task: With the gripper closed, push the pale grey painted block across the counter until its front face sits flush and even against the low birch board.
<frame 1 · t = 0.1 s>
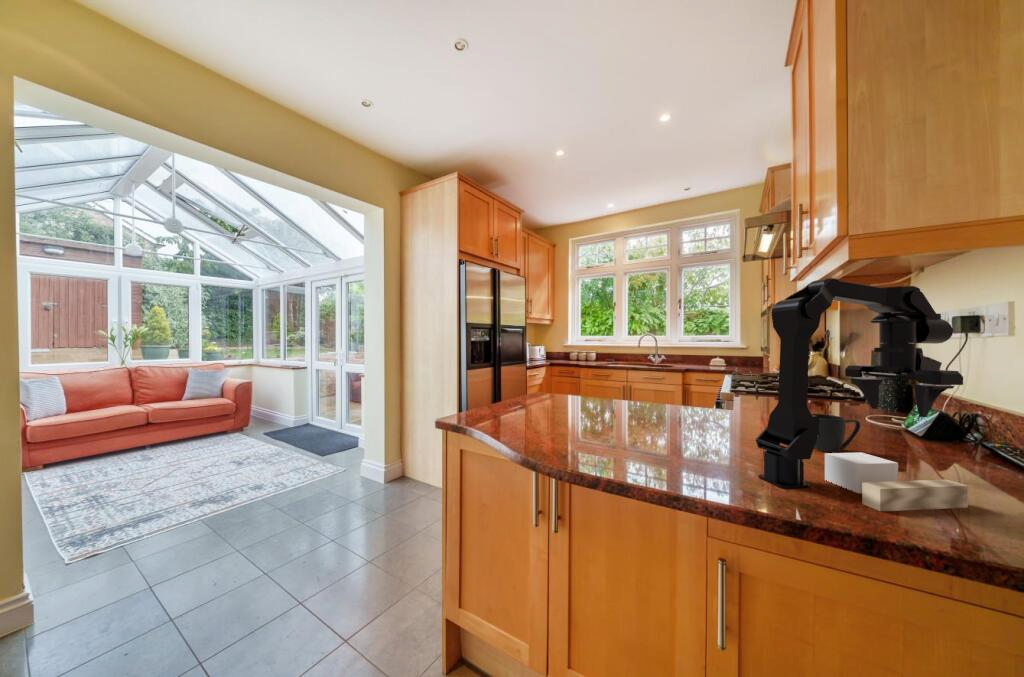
hand: (897, 412, 81), 15 cm above the countertop, tool pointing down, fingers open, 9 cm apart
block: (860, 486, 76), on the countertop
board: (914, 505, 67), on the countertop
mug: (833, 451, 101), on the countertop
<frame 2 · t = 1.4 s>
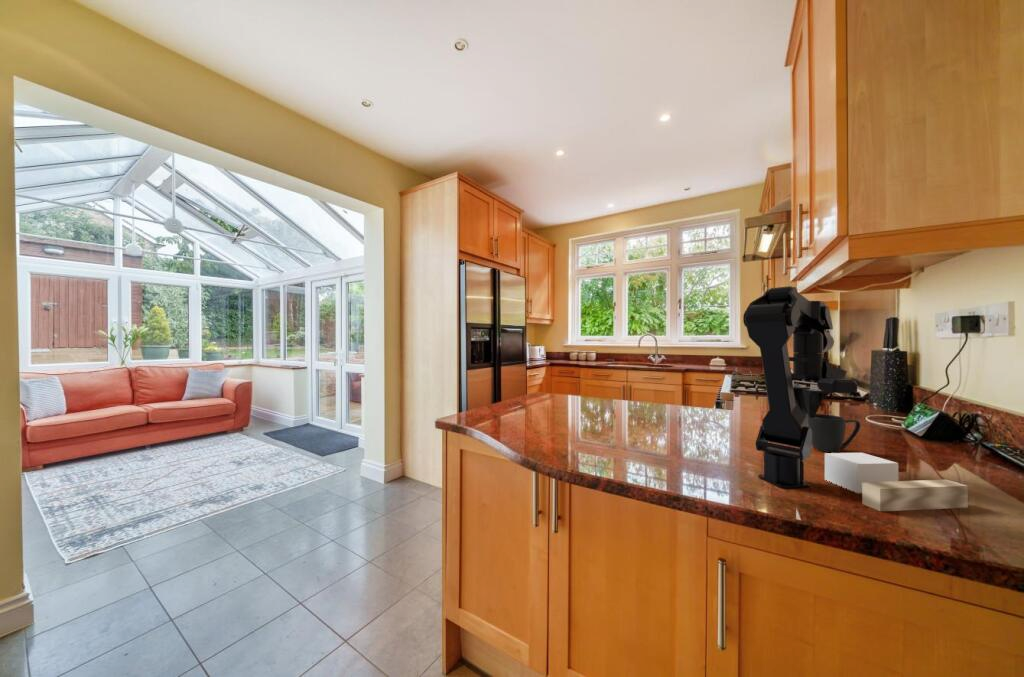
hand: (807, 416, 88), 12 cm above the countertop, tool pointing down, fingers closed
nothing on the countertop moved.
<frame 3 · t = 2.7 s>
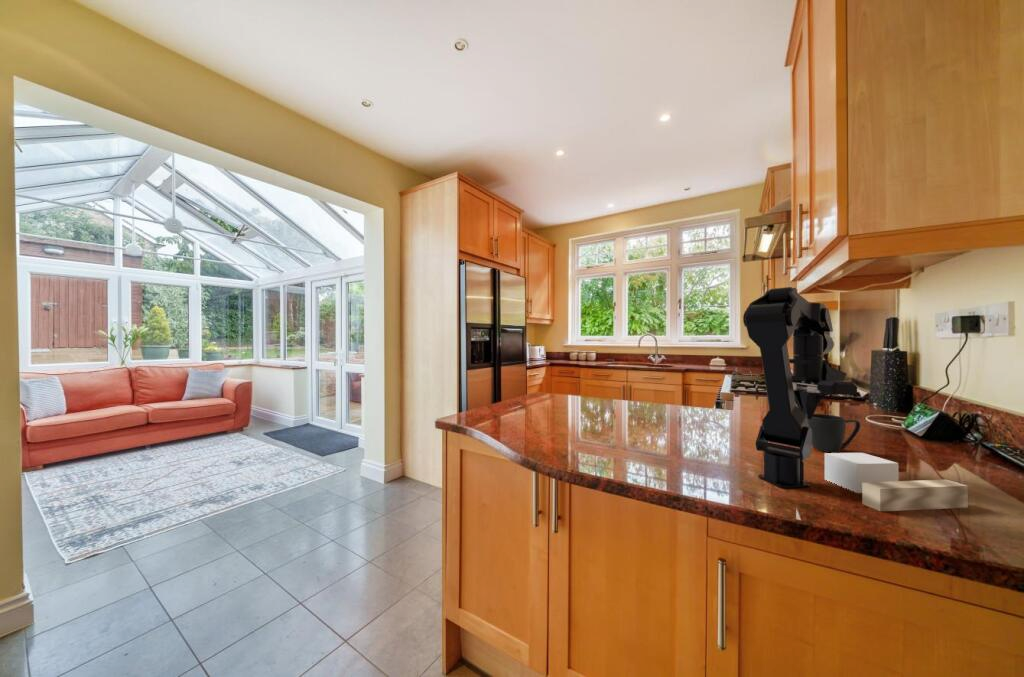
hand: (807, 419, 88), 11 cm above the countertop, tool pointing down, fingers closed
nothing on the countertop moved.
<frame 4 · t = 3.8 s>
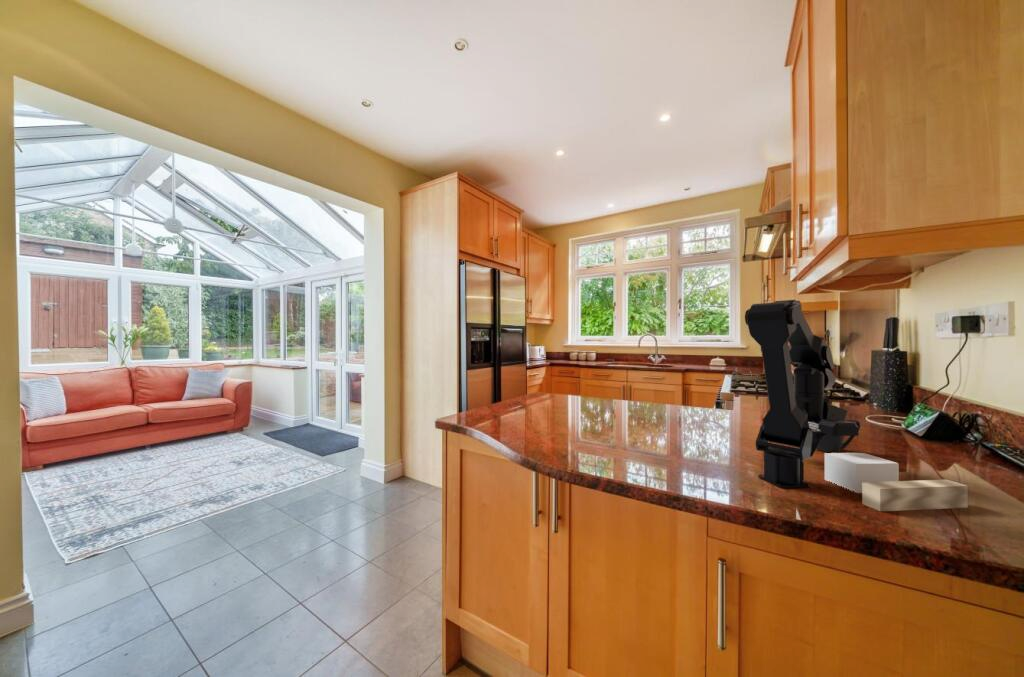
hand: (808, 456, 88), 2 cm above the countertop, tool pointing down, fingers closed
nothing on the countertop moved.
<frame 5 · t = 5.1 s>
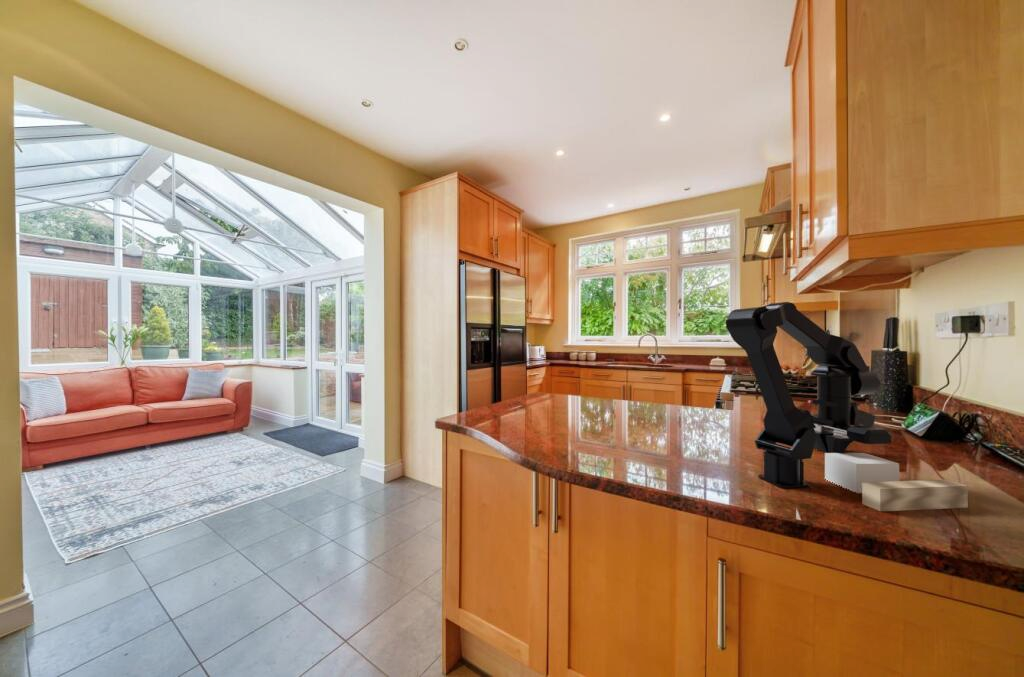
hand: (834, 464, 82), 2 cm above the countertop, tool pointing down, fingers closed
block: (860, 486, 76), on the countertop, touching gripper
everything else where it was.
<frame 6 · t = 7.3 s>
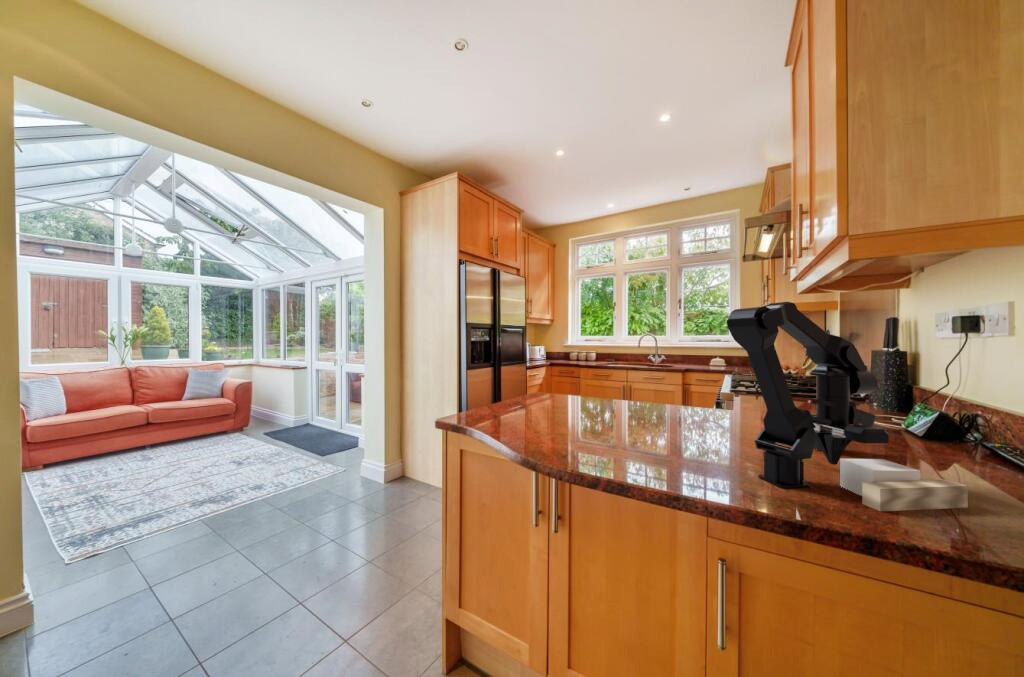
hand: (833, 464, 82), 3 cm above the countertop, tool pointing down, fingers closed
block: (878, 494, 72), on the countertop
everything else where it was.
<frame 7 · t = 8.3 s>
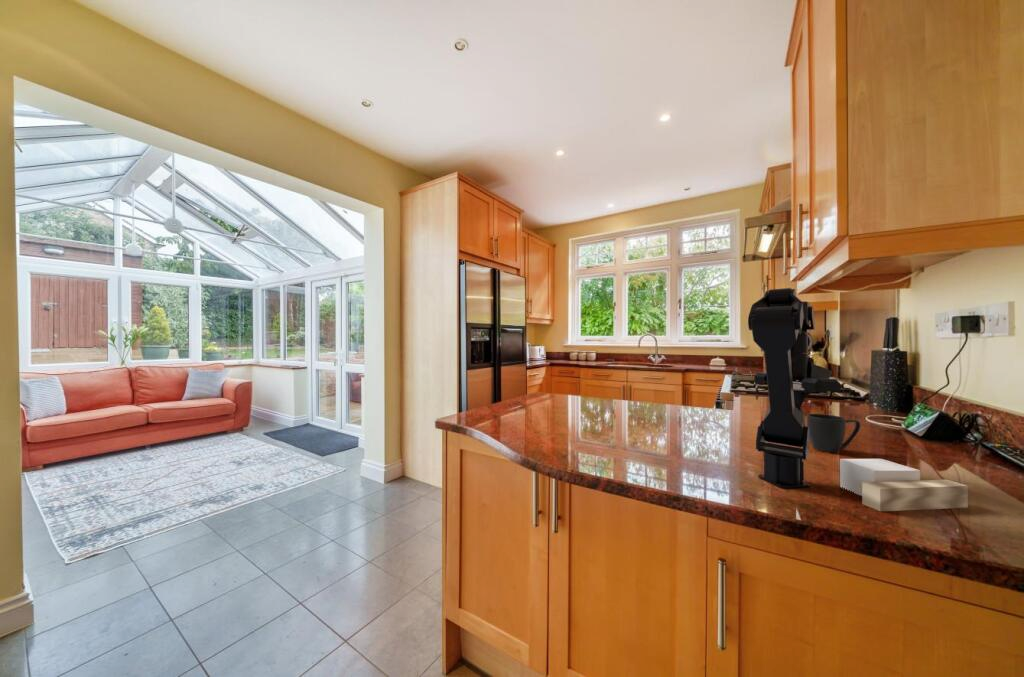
hand: (793, 416, 89), 12 cm above the countertop, tool pointing down, fingers closed
nothing on the countertop moved.
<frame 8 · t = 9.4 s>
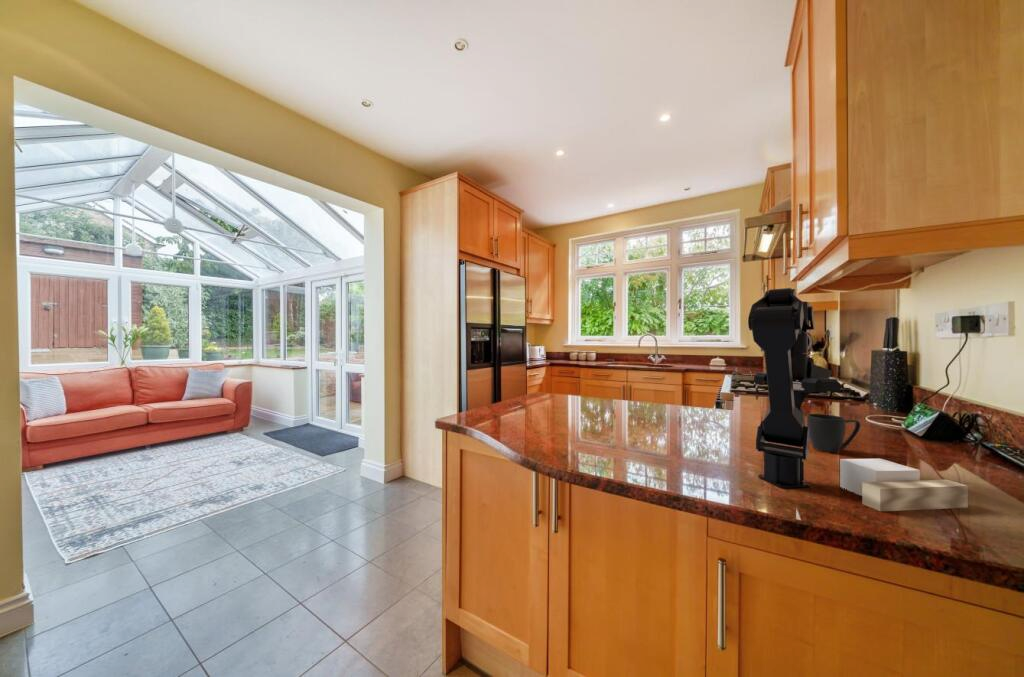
hand: (793, 416, 89), 12 cm above the countertop, tool pointing down, fingers closed
nothing on the countertop moved.
at the end: block 0.6 cm from the target spot on the countertop beside the board, on the countertop; block tilted 0° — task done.
